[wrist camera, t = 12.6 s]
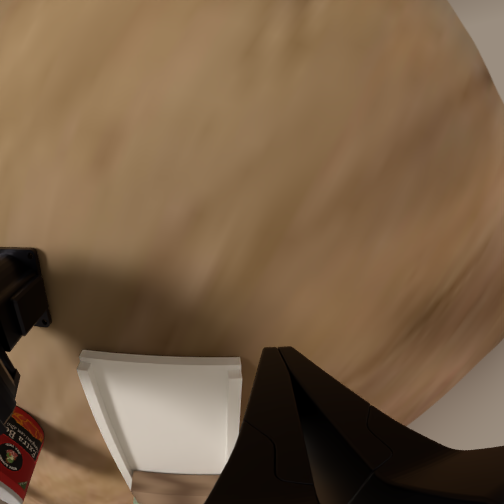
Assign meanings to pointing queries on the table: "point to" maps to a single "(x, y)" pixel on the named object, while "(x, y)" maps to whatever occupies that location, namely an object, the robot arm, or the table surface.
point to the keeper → (171, 488)
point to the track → (164, 410)
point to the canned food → (18, 455)
